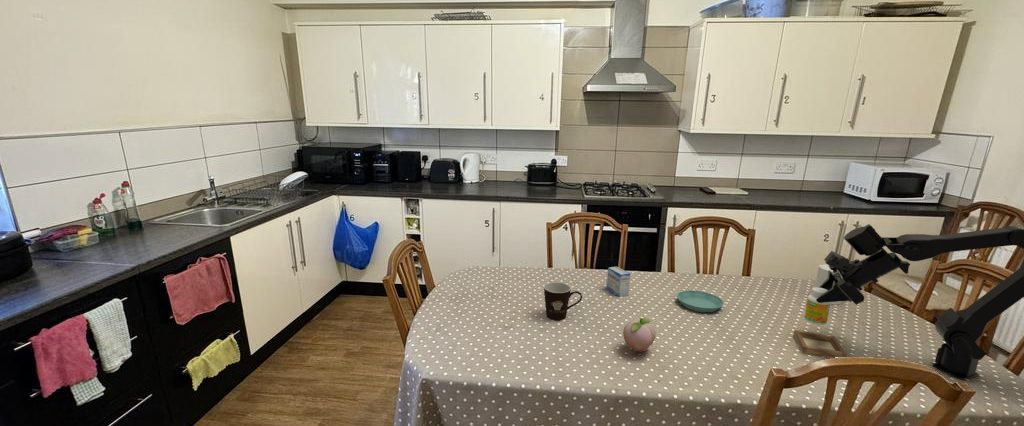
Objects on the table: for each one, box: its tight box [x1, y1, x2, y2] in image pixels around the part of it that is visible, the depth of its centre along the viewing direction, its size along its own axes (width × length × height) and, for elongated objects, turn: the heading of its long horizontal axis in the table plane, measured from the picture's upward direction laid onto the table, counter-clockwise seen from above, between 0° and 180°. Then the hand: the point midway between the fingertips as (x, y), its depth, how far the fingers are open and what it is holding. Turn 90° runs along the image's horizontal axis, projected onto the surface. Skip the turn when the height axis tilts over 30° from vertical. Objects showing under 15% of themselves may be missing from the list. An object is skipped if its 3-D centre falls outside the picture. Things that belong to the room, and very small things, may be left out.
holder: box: [792, 329, 848, 359], centre depth 120 cm, size 10×10×2 cm
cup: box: [814, 263, 842, 306], centre depth 151 cm, size 8×8×12 cm
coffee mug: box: [543, 281, 583, 322], centre depth 135 cm, size 12×9×10 cm
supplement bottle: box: [804, 286, 831, 326], centre depth 122 cm, size 5×5×10 cm
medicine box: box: [605, 266, 631, 298], centre depth 155 cm, size 8×4×9 cm, turn 25°
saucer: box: [676, 290, 725, 313], centre depth 146 cm, size 15×15×3 cm
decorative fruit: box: [622, 317, 657, 353], centre depth 116 cm, size 9×8×10 cm
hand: (815, 297), depth 122 cm, fingers closed on supplement bottle, 5 cm apart
